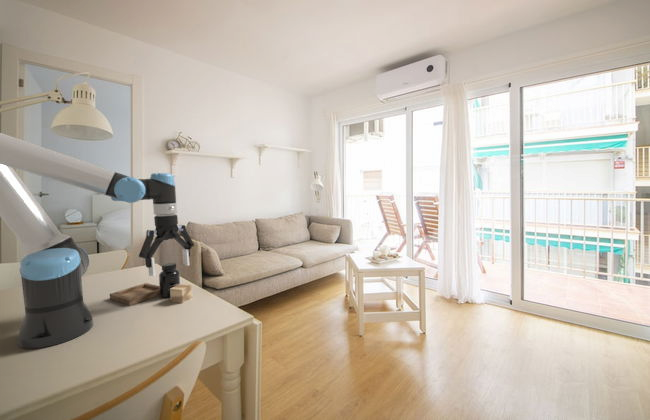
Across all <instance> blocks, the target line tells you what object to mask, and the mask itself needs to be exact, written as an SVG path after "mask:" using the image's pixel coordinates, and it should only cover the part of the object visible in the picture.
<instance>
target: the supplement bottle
mask: <svg viewBox="0 0 650 420" xmlns="http://www.w3.org/2000/svg"><path fill="white" fill-rule="evenodd" d="M180 274H181V273H180V271H179V270H178V269H177V263H176V262H166V263H163V264H162V265H161V272H160V273H159V274H158V275H159V276H158V279H159V280H158V281H159V283H158V284H159V285H158V286H160V295H159V296H160V298H161V299H171V297H170V288H172V287H174V286H177V285H179V284H181V278H180V277H181V276H180Z"/></svg>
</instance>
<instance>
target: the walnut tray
mask: <svg viewBox="0 0 650 420" xmlns="http://www.w3.org/2000/svg"><path fill="white" fill-rule="evenodd" d="M159 296H160V286H159V285H156V284H151V283H147V282H144V283H140V284H138V285H134V286H132V287H129V288H124V289H122V290H118V291H115V292H112V293H110V294H109V300H111V301H114V302H117V303H120V304H123V305H126V306H129V307H130V306H133V305H136V304H138V303H142V302H144V301H147V300H150V299H153V298H155V297H159Z"/></svg>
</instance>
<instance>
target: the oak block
mask: <svg viewBox="0 0 650 420" xmlns="http://www.w3.org/2000/svg"><path fill="white" fill-rule="evenodd" d="M190 298H191V299H192V298H193V285H192V284H191V283H190V284H189V283H187V284H186V283H180V284H179V285H177V286H174V287H172V288H170V302H171V303H180V304H184V303H185V302H187V301H189V300H190Z"/></svg>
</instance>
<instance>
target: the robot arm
mask: <svg viewBox="0 0 650 420" xmlns="http://www.w3.org/2000/svg"><path fill="white" fill-rule="evenodd" d="M16 170H18V171H22V172H25V173H29V174H32V175H36V176H39V177H43V178H46V179H50V180H52V181H53V180H54V181H57V182H61V183H63V184H67V185H70V186H72V187H73V186H74V187H77V188H80V189H83V190H87V191H91V192H95V193H97V194H101V195H104V196H108V197H110V198H111V200H112V201H113V202H125V203H129V204H131V203H133V204H134V203H136V202H139V201H145V200H147V201H148V200H149V201H150V200H152V207H153V214H154V226H155V229H154V230H151V229H147V230H146V233H145V234H146V235H145V239H144V242H143V244H142V247H141V248H140V249H141V250H140V251H139V254H138V258H142V259H144V260H145V262H144V263H145V267H146V268H147V269H148V276H149V277H150V276H151V277H156V276H157V275H156V265H155V264H156V263H155V257H153V256H154V255H155V253H156V252H157V250H158V248H159V247H160V246H161V244H162V243H163V242H164V241H168V240H173V239H174V241H176V242H177V243H178V244H179V245H180V246H181V247H182V248H183V249H181V252H182V253H181V254H182V263H183V264H182V265H183V266H187V267H189V266H190V257H191V250H192V247H195V243H194V242H193V240H192V238H191V236H190V234H189V233H188V231H187V228H186V225H184V224H179V222H178V221H179V220H178V215H177V213H178V209H177V208H178V206H177V195H176V193H177V192H176V184H175V183H176V182H175V176H174V175H173V174H172V173H169V172H168V173H167V172H166V173H165V172H156V173H155V172H154V173H153V172H152V173H151V174H150V177H149V178H135V177H133V176H132V177H131V176H128V175H126V174H122V173H119V172H116V171H114V170H111V169H108V168H104V167H102V166H99V165H97V164H93V163H90V162H88V161H84V160H82V159H80V158H75V157H74V156H73V157H72V156H71V155H67V154H63V153H60V152H58V151H55V150H52V149H49V148H46V147H43V146H40V145H38V144H35V143H32V142H29V141H26V140H23V139H20V138H17V137H13V136H11V135H8V134H5V133H4V132H3V133H2V132H0V218H1V219H2V220H3V222H4V223H5V224H6V226H7V227H8V228H9V229H10V231H11V232H12V233H13V234H14V235H15V237H16V238H17V239H18V240H19V242H20V243H21V244H22V245H23V247H24V248H25V251H24V253H23V256H22V257H23V258H22V259H21V261H20V268H19V273H20V274H19V275H20V276H21V286H22V295H23V303H24V305H23V306H24V313H25V315H24V318H23V321H22V324H21V327H20V328H19V329H20V330H19V332H18V335H17V341H18V346H19V348H21V349H27V350H28V349H30V350H31V349H32V350H33V349H40V348H47V347H52V346H55V345H58V344H63V343H65V342H68V341H70V340H71V341H72V340H74V339H75V338H78V337H80V336H82V335H83V334H86V333H87V332H88V331H90V330H91V329H92V328H93V326H94V319H93V315H92V314H91V311H90V310H89V308H88V306H87V304H86V303H85V301H84V295H83V293H84V292H83V281H82V278H83V276H84V274H86V273H87V271H88V268H89V265H90V259H89V258H90V257H89V254H88V253H87V251H86V250H85V249H84V248H83V247H81V246H79V245H78V244H77V243H76V241H74V239H73V237H72V236H71V235H69V234H63V233H61V231H59V229H58V227H57V226H56V225H55V223H54V222H53V221H52V219H51V217H49V215H48V214H47V213H46V211H45V210H44V209H43V207H42V206H41V205H40V203H39V202H38V200H37V199H36V198H35V196H34V195H33V194H32V192H31V191H30V190H29V188H28V187H27V185H26V184H25V183H24V182H23V180H22V179H21V177H20V176H19V175H18V174H17V172H16ZM178 224H179V225H178ZM178 232H179V233H180V234H179V233H178ZM181 236H182V237H181ZM154 237H155V238H154Z"/></svg>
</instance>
